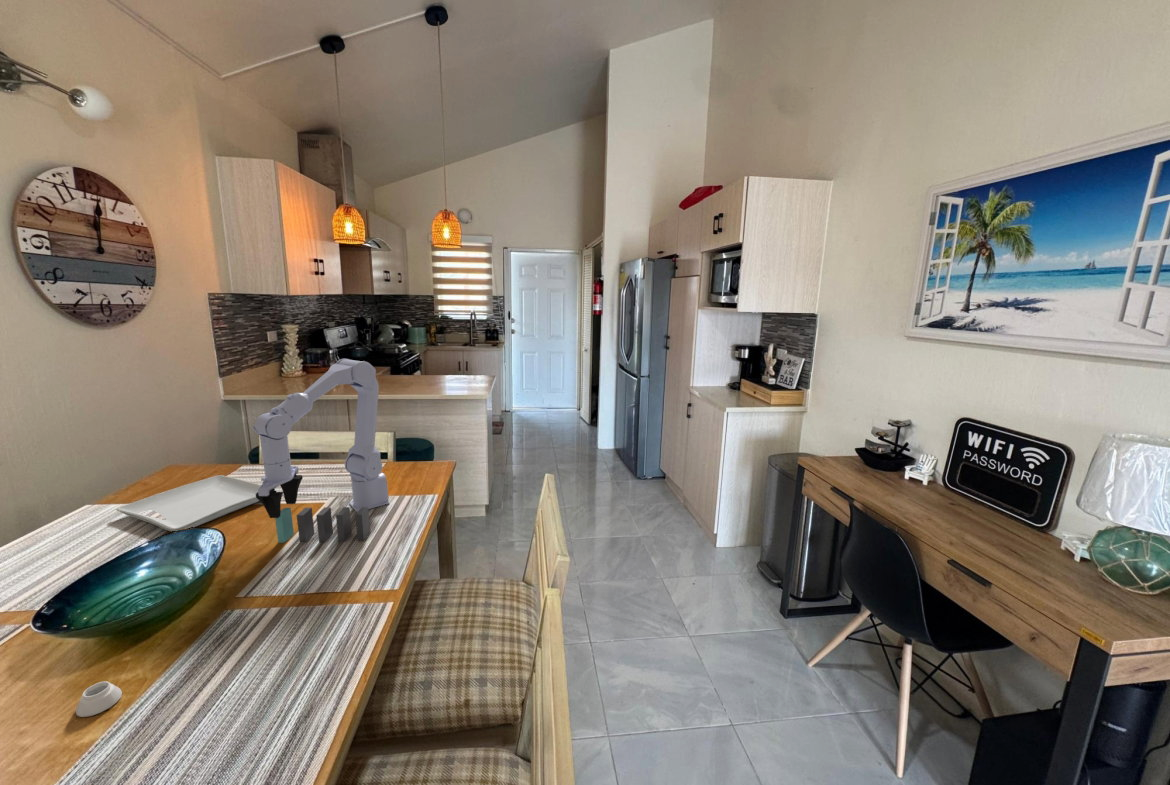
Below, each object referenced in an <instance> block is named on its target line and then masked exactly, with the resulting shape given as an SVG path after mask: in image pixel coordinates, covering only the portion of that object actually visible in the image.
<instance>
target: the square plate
mask: <svg viewBox="0 0 1170 785" xmlns="http://www.w3.org/2000/svg"><path fill="white" fill-rule="evenodd" d="M261 485H262V484H258V483H254V482H251V481H247V480H243V479H240V478H235V477H231V476H226V475H222V474H220V475H219V474H218V475H214V476H211V477H208V478H204V479H200V480H197V481H193V482H190V483H187V484H184V485H181V486H178V487H175V488H172V489H168V490H165V491H163V492H158V493H155V494H153V495H150V496H147V497H145V498H141V499H139V500H136V501H133V502H130V503H128V504H124V505H122V506H119V507H117V508H116V509H115V510H116V511H117V512H120V513H122V514H124V515H126V516H128V517H131V518H134V519H138V520H141V521H144V522H146V523H149V524H152V525H154V526H157V527H159V528H161V529H162V530H166V531H169V532H172V531H176V530H180V529H185V528H190V527H193V528H195V527H198V526H201V525H203V524H206V523H208V522H210V521H214V520H215V519H218V518H221V517H223V516H225V515H228V514H231V513H233V512H236V511H239V510H241V509H243V508H245V507H248V506H250V505H253V504H256V503H258V502H260V501H259V500H258V499H257V498H256V493H257V492H258V488H260V487H261ZM146 510H147V511H148V510H154V511H155V512H157V513H159V514H160V515H162V516H163V517H165V518H166V520H162V519H158V518H153V517H149V516H145V515H140V514H137V513H140V512H141V511H142V512H143V511H146ZM172 533H173V532H172Z"/></svg>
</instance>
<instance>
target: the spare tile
mask: <svg viewBox="0 0 1170 785" xmlns="http://www.w3.org/2000/svg"><path fill="white" fill-rule="evenodd" d="M274 520H275V526H276V535H277V543H281V544H283V543H286V542H287V541H289V539H290V538H291V537H292V536H294V535H295V532H294V525H293V524H294V523H293V522H294V521H293V515H292V508H291V507H284V508H282V509H281V513H280V517H279V518H274Z"/></svg>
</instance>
